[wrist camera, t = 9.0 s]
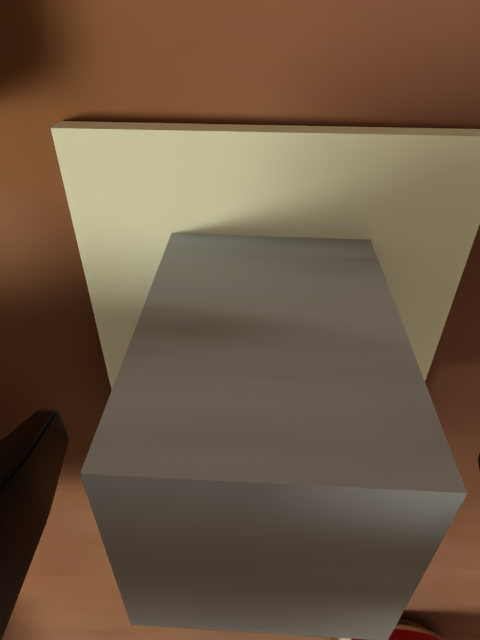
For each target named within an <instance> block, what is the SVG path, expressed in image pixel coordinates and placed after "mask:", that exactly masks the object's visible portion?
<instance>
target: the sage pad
mask: <svg viewBox="0 0 480 640" xmlns="http://www.w3.org/2000/svg"><path fill="white" fill-rule="evenodd" d="M51 131H52V136H53V140H54V144H55V149H56V153H57V157H58V161H59V166H60V170H61V174H62V179H63V183H64V187H65V192H66V196H67V200H68V205H69V209H70V213H71V217H72V222H73V226H74V230H75V235H76V239H77V243H78V248H79V252H80V256H81V261H82V265H83V269H84V273H85V278H86V282H87V286H88V291H89V295H90V299H91V304H92V308H93V312H94V317H95V321H96V325H97V330H98V334H99V338H100V342H101V347H102V351H103V355H104V360H105V364H106V368H107V373H108V377H109V381H110V386H111V390H112V388H113V385H114V383H115V380H116V378H117V375H118V372H119V370H120V367H121V364H122V362H123V359H124V357H125V354H126V351H127V349H128V346H129V343H130V341H131V338H132V335H133V333H134V330H135V328H136V325H137V322H138V320H139V317H140V314H141V312H142V309H143V306H144V304H145V301H146V299H147V296H148V293H149V291H150V288H151V285H152V283H153V280H154V277H155V275H156V272H157V270H158V267H159V264H160V262H161V259H162V256H163V254H164V251H165V248H166V246H167V243H168V241H169V238H170V235H171V233H178V234H209V235H241V236H272V237H304V238H335V239H367V240H371V242H372V245H373V247H374V250H375V253H376V255H377V258H378V261H379V263H380V266H381V268H382V271H383V274H384V276H385V279H386V281H387V284H388V287H389V289H390V292H391V295H392V297H393V300H394V302H395V305H396V308H397V310H398V313H399V315H400V318H401V321H402V323H403V326H404V329H405V331H406V334H407V336H408V339H409V342H410V344H411V347H412V349H413V352H414V355H415V357H416V360H417V363H418V365H419V368H420V370H421V373H422V376H423V378H424V381H425V380H426V377H427V374H428V371H429V369H430V366H431V363H432V360H433V357H434V354H435V351H436V348H437V346H438V343H439V340H440V337H441V334H442V331H443V328H444V325H445V322H446V320H447V317H448V314H449V311H450V308H451V305H452V302H453V299H454V297H455V294H456V291H457V288H458V285H459V282H460V279H461V276H462V273H463V271H464V268H465V265H466V262H467V259H468V256H469V253H470V250H471V248H472V245H473V242H474V239H475V236H476V233H477V230H478V227H479V225H480V129H449V128H397V127H344V126H291V125H239V124H186V123H133V122H80V121H60V122H59V123H57V124H56V125H54V126H53V127H51Z"/></svg>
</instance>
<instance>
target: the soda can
mask: <svg viewBox="0 0 480 640" xmlns="http://www.w3.org/2000/svg"><path fill="white" fill-rule="evenodd" d="M331 640H366V639H350V638H334V637H333V638H332V639H331ZM388 640H443V639H442V638H441V637H440V636H439V635H438V634H436V633H434V632H433V631H431V630H428V629H426V628H424V627H423V626H421V625H420V624H418V623H416V622H413V621H410V620H406V619H401V618H400V619H399V621H398V622H397V624H396V626H395V628H394V630H393V632H392V634H391V635H390V637H389V639H388Z"/></svg>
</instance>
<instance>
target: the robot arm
mask: <svg viewBox="0 0 480 640" xmlns="http://www.w3.org/2000/svg"><path fill="white" fill-rule="evenodd" d="M67 445H68V435H67V431H66V428H65V425H64V423H63V420H62V417H61V414H60V413H59V412H58V411H57V410H38V411H36V412H35V413H34V414H32V415H31V416H30V417H29V418H28V419H26V420H25V421H24V422H23V423H22V424H20V425H19V426H18V427H17V428H16V429H14V430H13V431H12V432H11V433H10V434H8V435H7V436H6V437H5V438H4V439H2V440H1V441H0V640H2V638H3V635H4V632H5V630H6V627H7V624H8V622H9V619H10V617H11V614H12V611H13V609H14V606H15V603H16V601H17V598H18V595H19V593H20V590H21V588H22V585H23V582H24V580H25V577H26V574H27V572H28V569H29V567H30V564H31V561H32V559H33V556H34V553H35V551H36V548H37V546H38V543H39V540H40V538H41V535H42V532H43V530H44V527H45V525H46V522H47V519H48V516H49V513H50V510H51V506H52V503H53V499H54V495H55V491H56V487H57V484H58V480H59V476H60V472H61V468H62V464H63V460H64V457H65V453H66V449H67ZM478 464H479V469H480V453H479V457H478Z"/></svg>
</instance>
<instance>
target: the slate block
mask: <svg viewBox="0 0 480 640" xmlns="http://www.w3.org/2000/svg"><path fill="white" fill-rule="evenodd" d="M80 475H81V478H82V481H83V484H84V487H85V490H86V493H87V496H88V499H89V502H90V505H91V508H92V511H93V514H94V517H95V519H96V522H97V525H98V528H99V531H100V534H101V537H102V540H103V543H104V546H105V549H106V552H107V555H108V558H109V561H110V564H111V567H112V570H113V573H114V576H115V579H116V582H117V585H118V587H119V590H120V593H121V596H122V599H123V602H124V605H125V608H126V611H127V614H128V617H129V620H130V623H131V625H141V626H157V627H173V628H189V629H205V630H221V631H237V632H253V633H269V634H285V635H302V636H318V637H334V638H350V639H366V640H388V639H389V637H390V635H391V634H392V632H393V630H394V628H395V626H396V624H397V622H398V621H399V619H400V617H401V615H402V613H403V611H404V610H405V608H406V606H407V604H408V602H409V600H410V598H411V597H412V595H413V593H414V591H415V589H416V587H417V586H418V584H419V582H420V580H421V578H422V576H423V574H424V573H425V571H426V569H427V567H428V565H429V563H430V562H431V560H432V558H433V556H434V554H435V552H436V550H437V549H438V547H439V545H440V543H441V541H442V539H443V538H444V536H445V534H446V532H447V530H448V528H449V527H450V525H451V523H452V521H453V519H454V517H455V515H456V514H457V512H458V510H459V508H460V506H461V504H462V503H463V501H464V499H465V497H466V495H467V491H466V488H465V486H464V483H463V480H462V478H461V475H460V472H459V470H458V467H457V465H456V462H455V459H454V457H453V454H452V452H451V449H450V446H449V444H448V441H447V438H446V436H445V433H444V431H443V428H442V425H441V423H440V420H439V418H438V415H437V412H436V410H435V407H434V404H433V402H432V399H431V397H430V394H429V391H428V389H427V386H426V384H425V381H424V378H423V376H422V373H421V370H420V368H419V365H418V363H417V360H416V357H415V355H414V352H413V349H412V347H411V344H410V342H409V339H408V336H407V334H406V331H405V329H404V326H403V323H402V321H401V318H400V315H399V313H398V310H397V308H396V305H395V302H394V300H393V297H392V295H391V292H390V289H389V287H388V284H387V281H386V279H385V276H384V274H383V271H382V268H381V266H380V263H379V261H378V258H377V255H376V253H375V250H374V247H373V245H372V242H371V240H367V239H335V238H304V237H272V236H241V235H209V234H178V233H171V235H170V238H169V241H168V243H167V246H166V248H165V251H164V254H163V256H162V259H161V262H160V264H159V267H158V270H157V272H156V275H155V277H154V280H153V283H152V285H151V288H150V291H149V293H148V296H147V299H146V301H145V304H144V306H143V309H142V312H141V314H140V317H139V320H138V322H137V325H136V328H135V330H134V333H133V335H132V338H131V341H130V343H129V346H128V349H127V351H126V354H125V357H124V359H123V362H122V364H121V367H120V370H119V372H118V375H117V378H116V380H115V383H114V385H113V388H112V391H111V393H110V396H109V399H108V401H107V404H106V407H105V409H104V412H103V414H102V417H101V420H100V422H99V425H98V428H97V430H96V433H95V436H94V438H93V441H92V443H91V446H90V449H89V451H88V454H87V457H86V459H85V462H84V465H83V467H82V470H81V472H80Z"/></svg>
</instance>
